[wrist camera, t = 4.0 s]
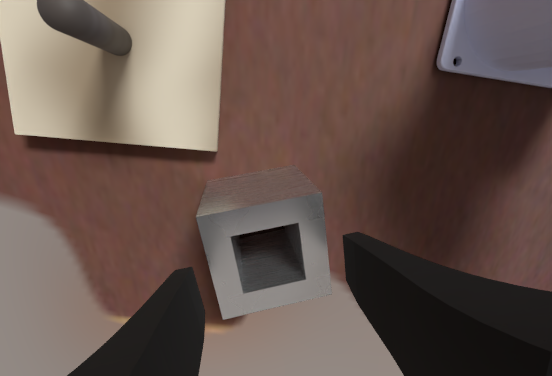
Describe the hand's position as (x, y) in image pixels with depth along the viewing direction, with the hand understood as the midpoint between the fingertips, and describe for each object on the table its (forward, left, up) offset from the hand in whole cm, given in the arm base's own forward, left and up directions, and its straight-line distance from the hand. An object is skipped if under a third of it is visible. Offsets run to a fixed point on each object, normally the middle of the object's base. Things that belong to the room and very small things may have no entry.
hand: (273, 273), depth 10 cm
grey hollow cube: (0, 0, -6) cm, 6 cm away
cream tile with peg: (+7, -8, -6) cm, 12 cm away
